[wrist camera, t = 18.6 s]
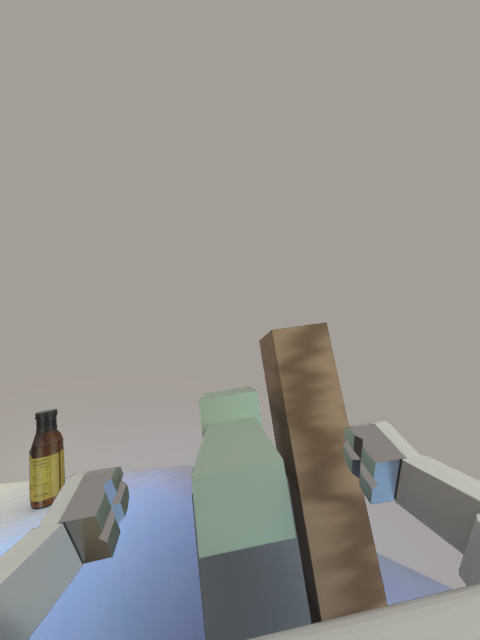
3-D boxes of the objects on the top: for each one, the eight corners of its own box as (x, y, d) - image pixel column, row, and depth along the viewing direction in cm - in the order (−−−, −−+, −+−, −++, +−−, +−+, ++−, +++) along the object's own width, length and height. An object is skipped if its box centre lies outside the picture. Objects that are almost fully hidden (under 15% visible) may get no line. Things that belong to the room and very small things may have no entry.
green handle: (257, 434, 26) (249, 386, 27) (307, 534, 10) (286, 409, 11) (210, 442, 25) (204, 393, 26) (186, 560, 10) (175, 428, 11)
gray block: (291, 622, 22) (262, 435, 25) (344, 824, 12) (287, 477, 15) (225, 638, 21) (205, 445, 25) (226, 863, 12) (192, 495, 15)
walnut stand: (348, 587, 25) (299, 335, 30) (405, 689, 17) (326, 322, 22) (300, 598, 24) (259, 340, 29) (336, 708, 16) (271, 329, 21)
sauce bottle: (48, 495, 58) (49, 409, 62) (71, 494, 57) (71, 406, 61) (20, 512, 51) (22, 414, 55) (45, 510, 50) (46, 411, 54)
